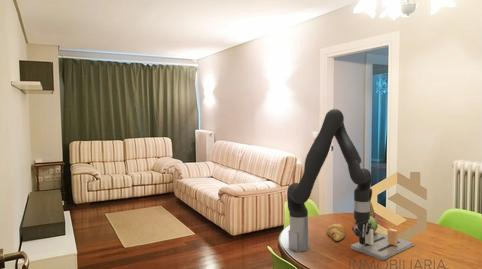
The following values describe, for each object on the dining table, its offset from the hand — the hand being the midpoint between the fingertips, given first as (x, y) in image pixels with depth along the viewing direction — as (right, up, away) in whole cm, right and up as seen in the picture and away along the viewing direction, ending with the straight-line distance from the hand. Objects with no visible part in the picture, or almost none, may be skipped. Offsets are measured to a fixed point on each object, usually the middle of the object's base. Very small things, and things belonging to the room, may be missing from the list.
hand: (362, 243), depth 168 cm
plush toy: (+14, -1, +35) cm, 38 cm away
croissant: (-7, -3, +22) cm, 23 cm away
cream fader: (+4, -1, +3) cm, 5 cm away
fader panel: (+11, -3, +3) cm, 12 cm away
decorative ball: (+11, -2, +23) cm, 26 cm away
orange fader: (+16, 0, +1) cm, 16 cm away
